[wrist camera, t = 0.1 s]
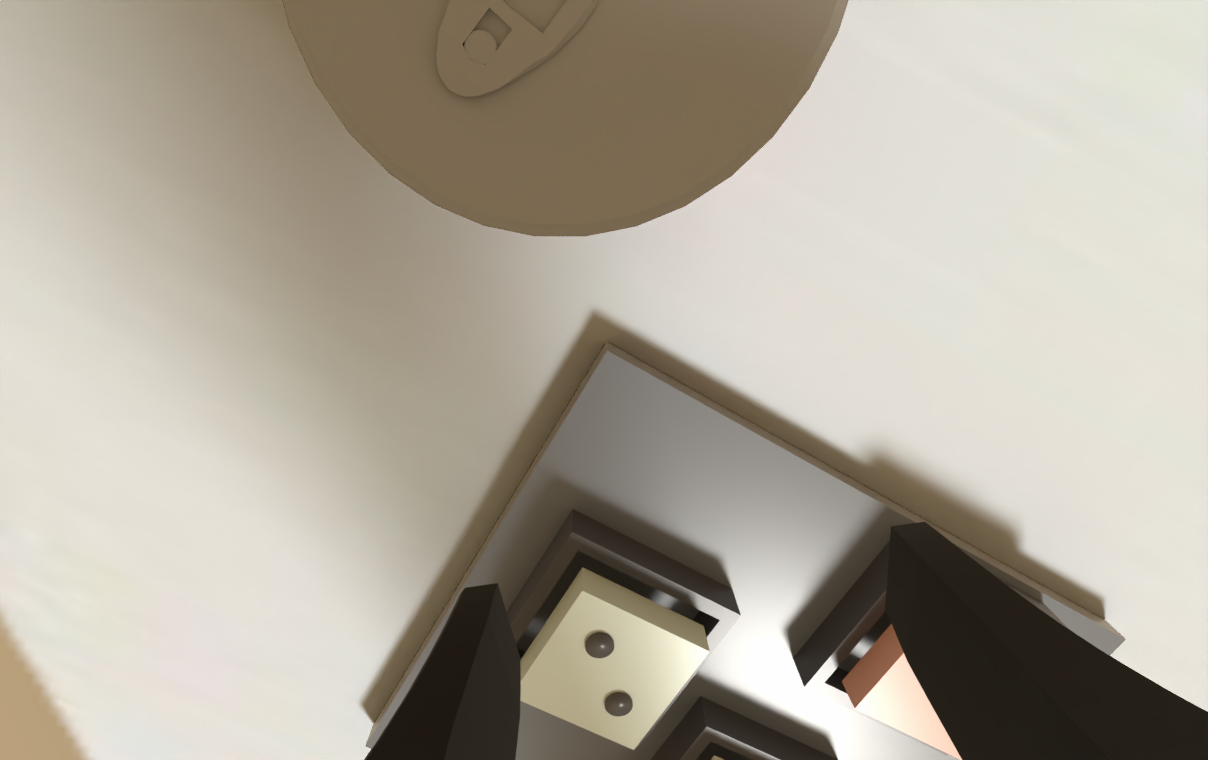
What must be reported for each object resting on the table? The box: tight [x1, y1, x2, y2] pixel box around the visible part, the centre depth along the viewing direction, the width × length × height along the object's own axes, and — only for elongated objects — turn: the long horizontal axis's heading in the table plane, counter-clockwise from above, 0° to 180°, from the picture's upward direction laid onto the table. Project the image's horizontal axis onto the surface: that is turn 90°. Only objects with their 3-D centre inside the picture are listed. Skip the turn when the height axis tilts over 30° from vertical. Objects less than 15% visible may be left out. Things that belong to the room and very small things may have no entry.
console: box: [366, 342, 1126, 760], centre depth 25 cm, size 18×22×2 cm
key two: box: [520, 567, 710, 750], centre depth 22 cm, size 5×5×1 cm
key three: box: [842, 624, 962, 760], centre depth 23 cm, size 5×5×1 cm
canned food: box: [283, 0, 848, 236], centre depth 14 cm, size 8×8×11 cm
